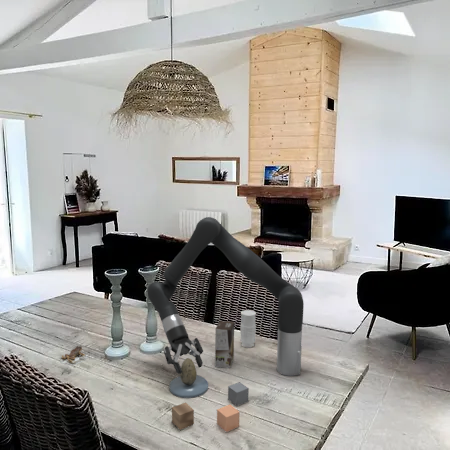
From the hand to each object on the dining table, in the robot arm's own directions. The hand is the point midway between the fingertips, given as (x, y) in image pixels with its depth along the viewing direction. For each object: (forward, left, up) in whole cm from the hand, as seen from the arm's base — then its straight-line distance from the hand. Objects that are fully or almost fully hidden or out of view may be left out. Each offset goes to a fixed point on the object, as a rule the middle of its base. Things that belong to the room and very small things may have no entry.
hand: (190, 369), depth 150 cm
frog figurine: (+55, -11, -8) cm, 57 cm away
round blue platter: (+1, -1, -7) cm, 7 cm away
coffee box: (-7, -23, -8) cm, 25 cm away
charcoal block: (-18, +3, -7) cm, 20 cm away
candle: (-13, -42, -8) cm, 44 cm away
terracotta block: (-18, +17, -7) cm, 26 cm away
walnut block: (-4, +20, -7) cm, 21 cm away
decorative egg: (+1, -1, -6) cm, 6 cm away
